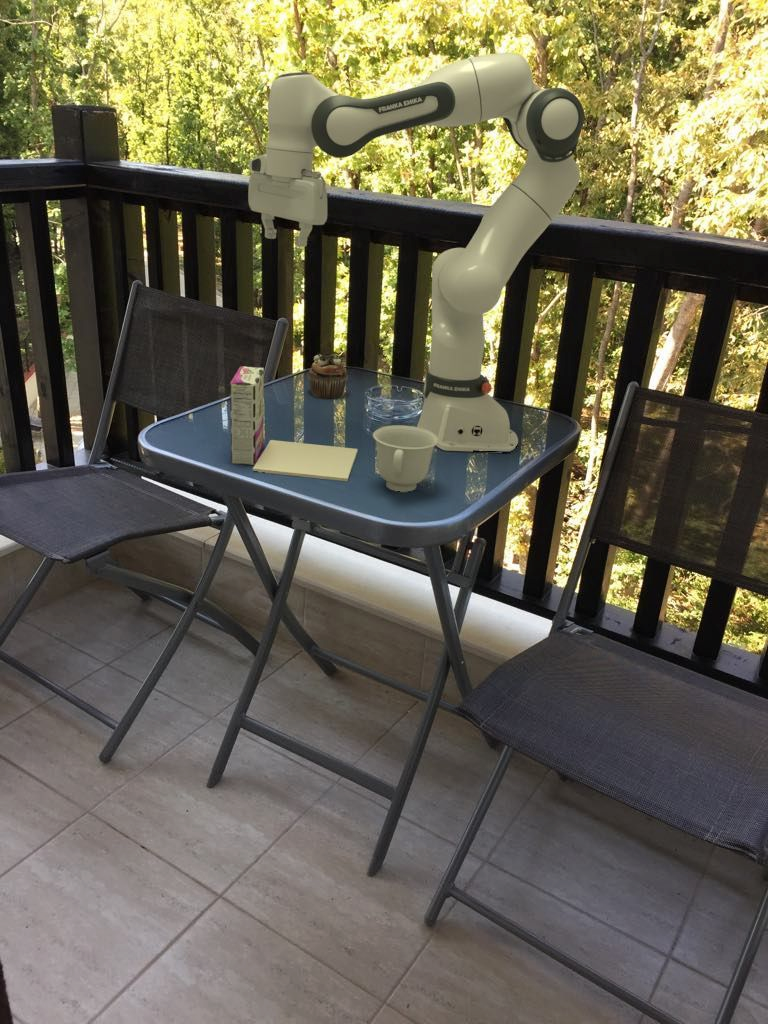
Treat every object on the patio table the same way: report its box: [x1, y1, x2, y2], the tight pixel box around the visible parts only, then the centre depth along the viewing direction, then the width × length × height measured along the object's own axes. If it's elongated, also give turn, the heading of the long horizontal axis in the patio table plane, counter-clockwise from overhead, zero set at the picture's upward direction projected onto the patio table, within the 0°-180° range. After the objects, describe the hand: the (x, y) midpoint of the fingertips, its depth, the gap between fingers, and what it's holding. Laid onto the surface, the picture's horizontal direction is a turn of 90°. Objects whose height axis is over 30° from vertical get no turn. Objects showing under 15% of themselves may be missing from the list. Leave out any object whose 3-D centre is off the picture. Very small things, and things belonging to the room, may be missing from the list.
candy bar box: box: [229, 365, 265, 466], centre depth 166 cm, size 11×5×16 cm, turn 179°
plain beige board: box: [252, 439, 358, 482], centre depth 169 cm, size 18×16×1 cm
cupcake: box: [307, 352, 348, 400], centre depth 208 cm, size 10×10×10 cm
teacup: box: [372, 424, 439, 493], centre depth 158 cm, size 12×15×10 cm
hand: (285, 242), depth 169 cm, fingers open, 8 cm apart
